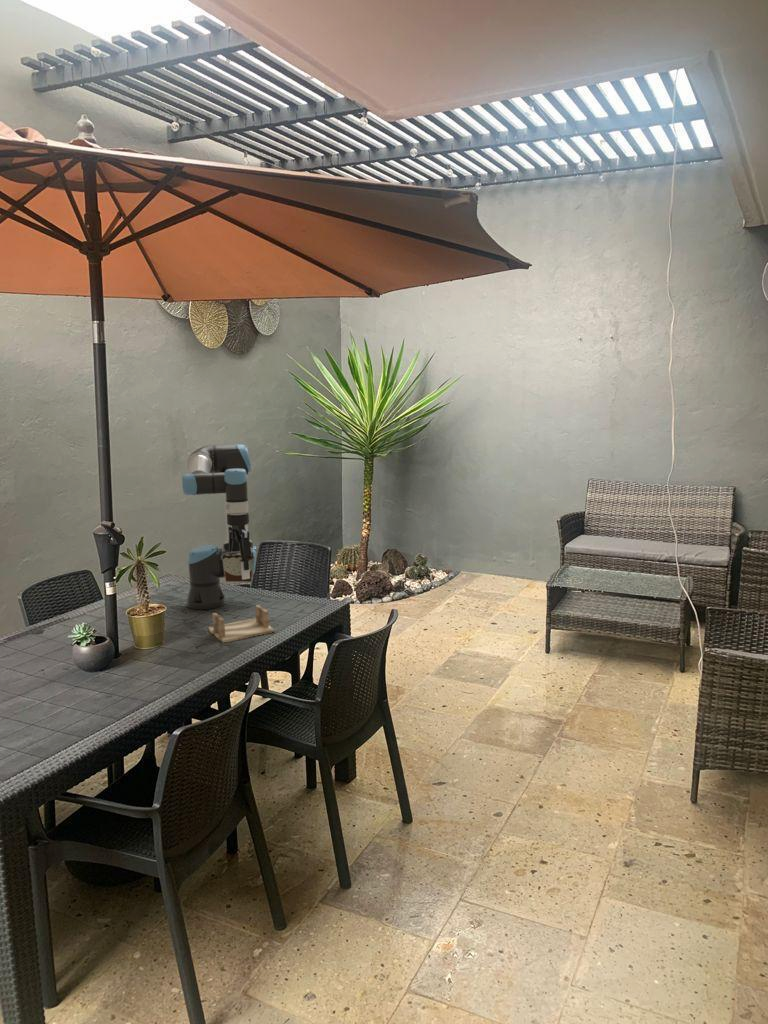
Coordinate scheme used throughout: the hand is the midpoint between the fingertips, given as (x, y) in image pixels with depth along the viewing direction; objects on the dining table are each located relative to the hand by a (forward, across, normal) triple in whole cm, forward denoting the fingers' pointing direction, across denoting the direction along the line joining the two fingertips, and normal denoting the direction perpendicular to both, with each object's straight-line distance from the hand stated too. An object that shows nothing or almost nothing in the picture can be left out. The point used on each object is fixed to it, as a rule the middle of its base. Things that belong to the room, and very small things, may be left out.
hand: (241, 576), depth 259 cm
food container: (+2, 0, 0) cm, 2 cm away
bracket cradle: (+20, +1, -1) cm, 20 cm away
